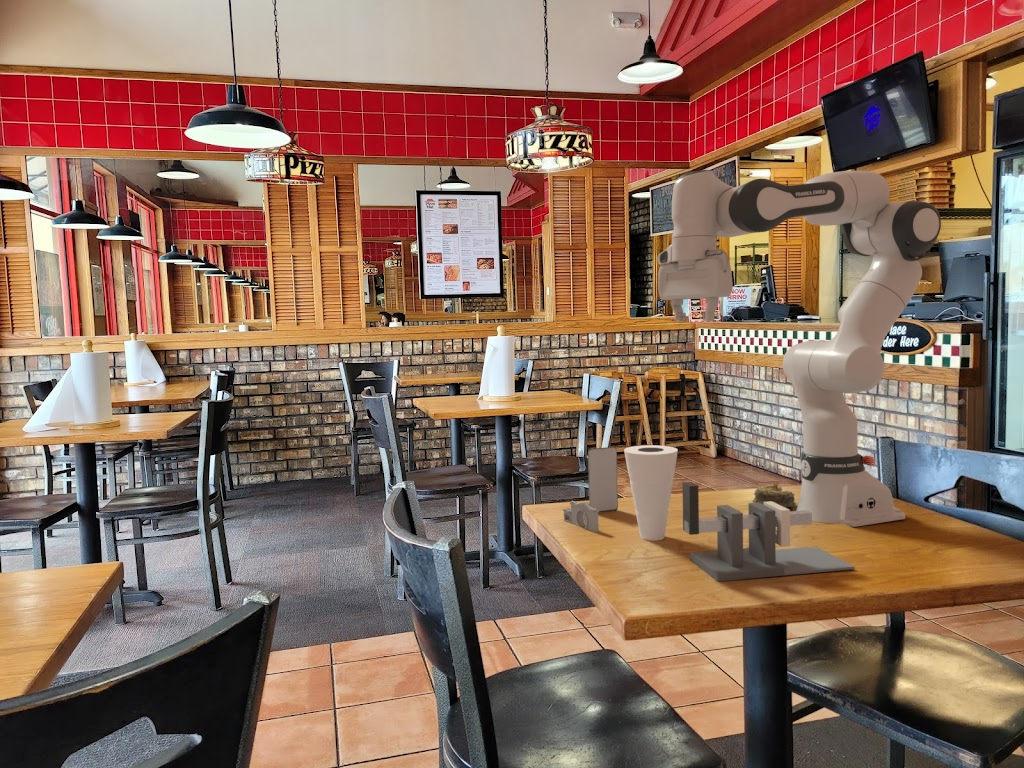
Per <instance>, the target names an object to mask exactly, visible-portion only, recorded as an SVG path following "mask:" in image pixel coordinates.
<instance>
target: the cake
mask: <svg viewBox="0 0 1024 768" xmlns="http://www.w3.org/2000/svg"><path fill="white" fill-rule="evenodd" d="M753 495H754V498H753V500H751V501H752V502H751V503H761V504H763V505H764V502H769V501H772V502H774V503H776V504H779V505H781V506H783V507H785V508H792V507H796V506H798V503H797V502H796V501H795V499H796V498H795V494H794V492H793V491H790V490H788V489H787V490H783V488H782V487H781V486H779V485H778V483H777V481H775V482H774V483H773V485H770V484H768V485H762V486H758V487H757V488H756V489H755V491H754V493H753Z"/></svg>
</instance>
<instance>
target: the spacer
mask: <svg viewBox="0 0 1024 768" xmlns="http://www.w3.org/2000/svg"><path fill="white" fill-rule="evenodd" d="M764 505H765V506H767V507H769V508H771V509H773V510H775V516H776V517H777V527H775V545H776V544H777V545H778V546H779V547H781V548H782V547H790V546H791V526H790V511H791V510H790V509H789V508H788V507H783V506H781V505H779V504H776V503H774V502H772V501H769V502H764Z"/></svg>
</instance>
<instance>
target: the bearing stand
mask: <svg viewBox="0 0 1024 768" xmlns="http://www.w3.org/2000/svg"><path fill="white" fill-rule="evenodd" d="M750 514H757V515H759V516H760V528H756V529H748V547H745V548H744V533H743V532H744V529H743V515H744V513H743V512H741V511H739V510H737V509H736V508H734V507H732V506H731V505H729V504H724V505H723V504H720V505H719V504H718V505H716V517H726V518H728V531H718V532H716V534H717V535H716V536H717V540H716V541H717V550H708V551H699V552H697V551H696V552H689V560H690V561H691V562H693V563H694V564H695V565H697V566H698V567H699V568H700V569H702V570H703V571H704V572H705V573H706V574H708V576H710V577H711V578H713V579H714V580H715V581H717V582H726V581H727V582H728V581H737V580H747V579H759V578H769V577H770V578H771V577H781V576H785V575H784V568H783V567H781V566H780V565H778V564H776V550H777V549H776V543H775V510H773V509H771V508H769V507H767V506H765V505H763V504H761V503H753V502H750V503H748V515H750Z"/></svg>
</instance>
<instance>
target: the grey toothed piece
mask: <svg viewBox="0 0 1024 768" xmlns="http://www.w3.org/2000/svg"><path fill="white" fill-rule="evenodd" d="M569 505H570V507H564V509H562V511H563V521H565V522H567V523H570V524H573V525H575V526H577V527H579V528H583V529H584V530H587V531H590V532H593V533H598V532H599V531H600V530H599V527H600V526H599V513H601V512H600V510H598V509H594V508H593V507H592V506H591V505H590V504H589V502H585V501H581V502H577V501H574V500H571V502H569Z"/></svg>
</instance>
